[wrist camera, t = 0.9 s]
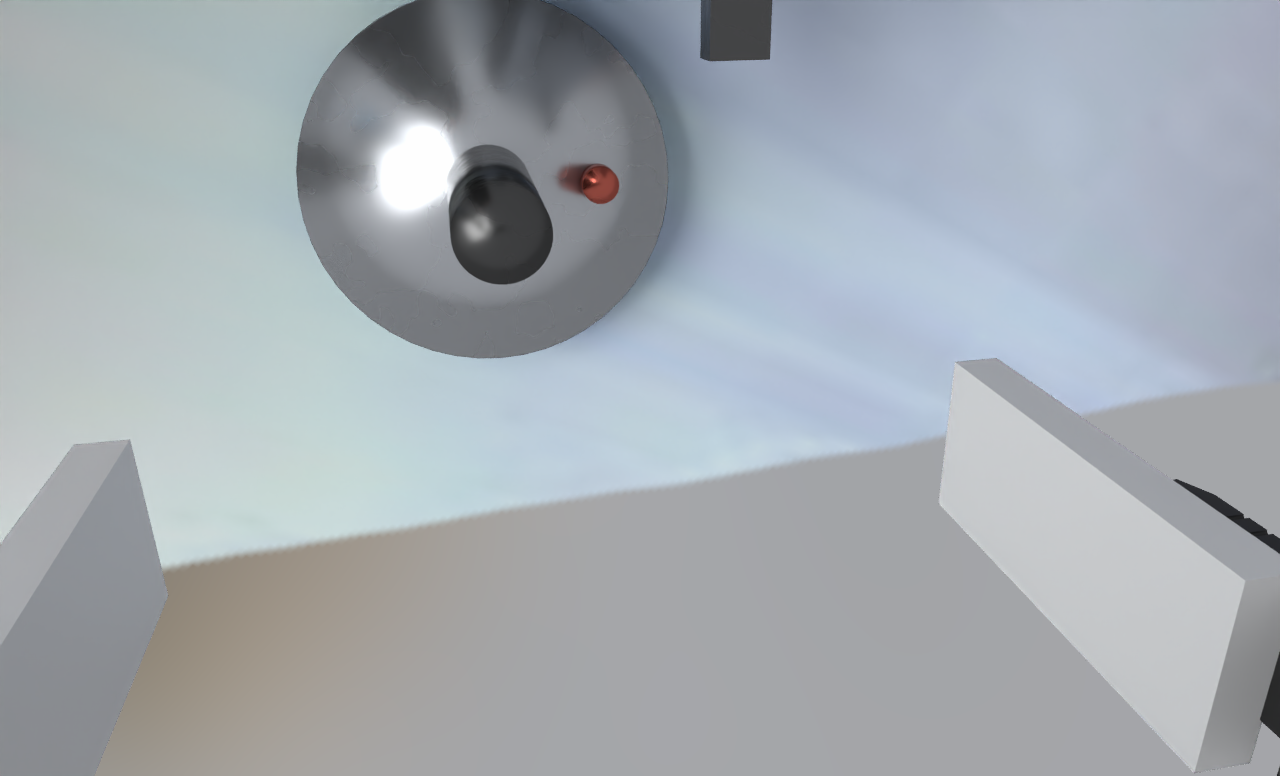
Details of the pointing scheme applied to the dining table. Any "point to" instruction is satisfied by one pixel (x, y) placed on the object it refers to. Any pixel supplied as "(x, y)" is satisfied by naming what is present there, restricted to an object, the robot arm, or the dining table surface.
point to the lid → (482, 175)
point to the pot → (735, 29)
